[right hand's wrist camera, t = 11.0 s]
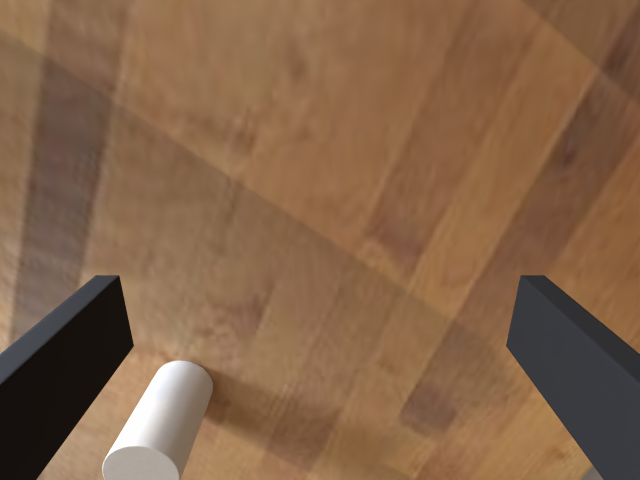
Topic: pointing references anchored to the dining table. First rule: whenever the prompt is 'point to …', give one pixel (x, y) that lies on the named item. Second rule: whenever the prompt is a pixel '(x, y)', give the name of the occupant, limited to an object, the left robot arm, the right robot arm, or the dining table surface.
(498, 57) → the dining table surface
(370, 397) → the dining table surface
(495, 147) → the dining table surface
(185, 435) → the cylinder
